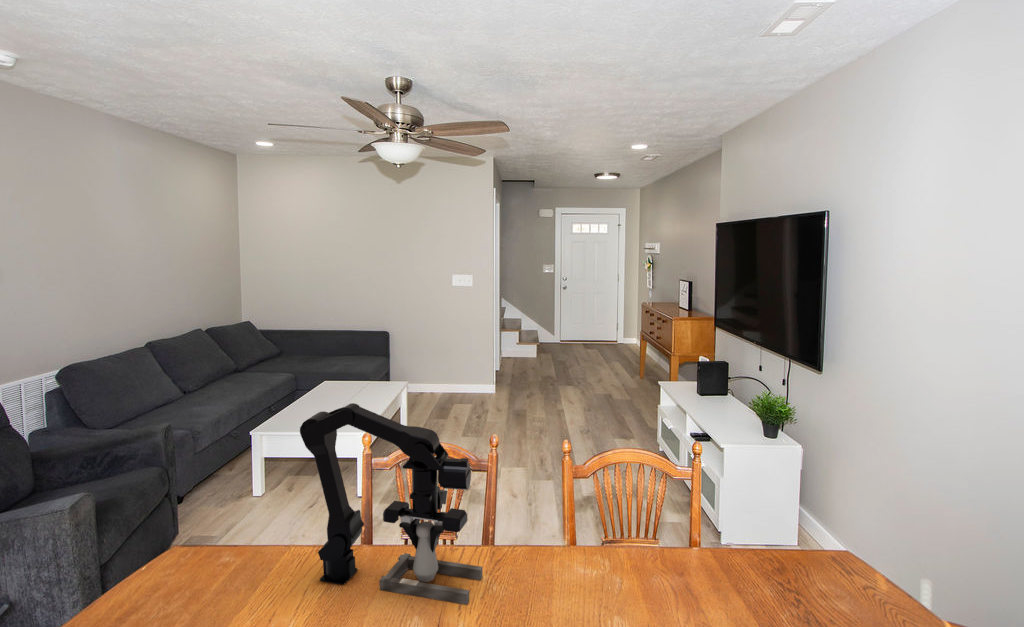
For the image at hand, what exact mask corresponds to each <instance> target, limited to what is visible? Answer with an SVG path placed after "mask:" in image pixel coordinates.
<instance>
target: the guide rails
mask: <svg viewBox="0 0 1024 627" xmlns="http://www.w3.org/2000/svg"><path fill="white" fill-rule="evenodd" d="M414 559H415V555H414V556H412V555H411V553H406V552H404V553H403V554H400V555H399V556H398V557H397V560H398V561H397V562H396V563H395V564H394V565H393V566H392V568H390V570H389V571H388V572H387V573H386V575H385V576H384V575H382V576H381V577H380V579H379V580H378V581H379V591H382V592H383V591H384V592H389V593H395V594H400V595H401V594H402V595H407V596H413V597H417V598H418V597H419V598H424V599H425V598H426V599H431V600H437V601H441V602H442V601H443V602H449V603H452V604H453V603H454V604H460V605H468V603H469V602H470V590H469V589H466V588H465V589H464V588H459V587H452V586H446V585H439V584H434V583H429V582H420V581H419V580H417V579H416V580H414V579H410V578H409V579H408V578H402V577H403V576H404V575H405V573H406V572H407V571H408V570H413V565H414ZM437 562H438V571H437V573H438V574H439V575H444V576H452V577H458V578H464V579H470V580H476V581H481V580H482V578H483V566H480V565H473V564H467V563H459V562H453V561H446V560H439V559H437ZM413 571H414V570H413ZM437 573H436V574H437Z"/></svg>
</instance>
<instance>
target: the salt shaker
mask: <svg viewBox="0 0 1024 627" xmlns="http://www.w3.org/2000/svg"><path fill="white" fill-rule="evenodd" d="M433 526H434V522H433V523H432V521H429V520H426V521H420V523H419V524H418V525H417V526H416V534H417V536H418V542H417V549H415V554H414V557H415V559H414V565H413V573H414V576H415V577H416V579H417V581H419V582H422V583H430V582H431V581H433V580H434V579H435V577H436V575H437V571H438V562H437V560H438V559H437V552H436V550H435V551H434V552H432V551H431V547H430V529H431V528H432V527H433Z"/></svg>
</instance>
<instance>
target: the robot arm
mask: <svg viewBox="0 0 1024 627" xmlns="http://www.w3.org/2000/svg"><path fill="white" fill-rule="evenodd" d="M346 426H351V427H353V428H355V429H358V430H360V431H363V432H365V433H367V434H370V435H371V436H374V437H377V438H378V439H381V440H384V441H386V442H388V443H390V444H392V445H395V446H396V447H398V449H399V450H400V451H401V452H402V453H403V454H404V455H406V456H407V457H409V458H408V459H407V460H406V461H405V462H404V463H403V464H402V469H404V470H405V469H407V470H411V480H412V481H411V484H412V485H411V486H412V487H411V493H410V494H409V499H410V500H412V502H411V503H412V508H410V503H408V502H407V501H399V500H393V502H391V503H390V504H389V505H388V506H387V507H386V508H385V509H384V510H383V513H382V521H383V522H384V523H391V524H395V523H396V522H397V521H399V519H400V523H399V525H398V527H399V528H402V529H403V530H404V532H405V533H406V535H407V536H408V538H409V539H410V541H411V543H412V545H413V547H414V548H415V550H416V549H417V542H418V536H417V534H416V526H417V525H418V524H419V523H421V520H424V521H428V522H433V524H434V526H433V527H432V528H431V529H430V547H431V551H432V552H434V551H435V552H436V549H437V545H438V543H439V539H440V536H441V534H443V533H444V532H452V533H460V532H461V530H462V529H463V528H464V526H465V525H466V523H467V522H468V513H467V511H466V510H465V509H459V508H453V507H451V508H450V509H449V510H448V511H447V512H446V511H439V510H441V509H442V508H443V505H446V504H447V495H448V490H450V489H451V490H460V491H461V490H463V491H468V490H469V489H470V485H471V478H472V469H471V466H470V462H469V458H466V457H465V458H464V457H463V458H450V457H449V453H448V452H447V451H446V449H445V448H444V446H443V445H442V444H441V442H440V438H439V435H438V433H437V432H436V431H434V430H433V429H429V428H425V427H422V426H413V425H412V426H410V425H405V424H402V423H399V422H397V421H396V420H395V421H394V420H393V419H390V418H388V417H385V416H382V415H381V414H378V413H376V412H373V411H371V410H369V409H367V408H363V407H362V406H360V404H358V403H349V404H347V405H345V406H343V407H340V408H337V409H334V410H332V411H330V412H327V411H318V412H317V413H315V414H313V415H312V416H311V417H309V418H307V419H306V420H304V421H303V422H302V424H301V425H300V427H299V434H300V437H301V439H302V441H303V444H304V446H305V448H306V449H307V451H309V452H310V453H311V454H312V455H313V458H314V460H315V465H316V469H317V473H318V476H319V480H320V483H321V489H322V491H323V492H322V493H323V496H324V500H325V504H326V508H327V512H328V519H327V526H326V534H327V535H326V536H327V537H326V538H327V541H326V542H325V543H324V545H323V546H322V547H321V548H320V549H319V550H318V551H317V554H318V557H319V559H320V560H321V561H322V567H323V575H322V576H321V577H320V578H319V582H321V583H322V582H324V583H328V584H334V585H340V586H344V585H346V583H348V581H350V579H351V578H352V577H353V576H354V575H355V574H356V573H357V572H358V567H356V558H355V555H354V549H352V546H353V545H354V544H355V543H356V541H357V540H358V538H360V536H361V534H362V532H363V527H364V525H365V523H364V521H363V519H362V516H361V510H360V509H358V510H354V509H353V508H352V507H351V506H350V504H349V500H348V496H347V492H346V487H345V482H344V480H343V476H342V472H341V467H340V463H339V458H338V455H337V452H336V444H337V436H338V432H337V431H338V430H339V429H342V428H343V427H346ZM434 455H435V456H434ZM438 484H439V486H438ZM441 488H443V489H441ZM445 489H446V490H445ZM447 489H448V490H447Z"/></svg>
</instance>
